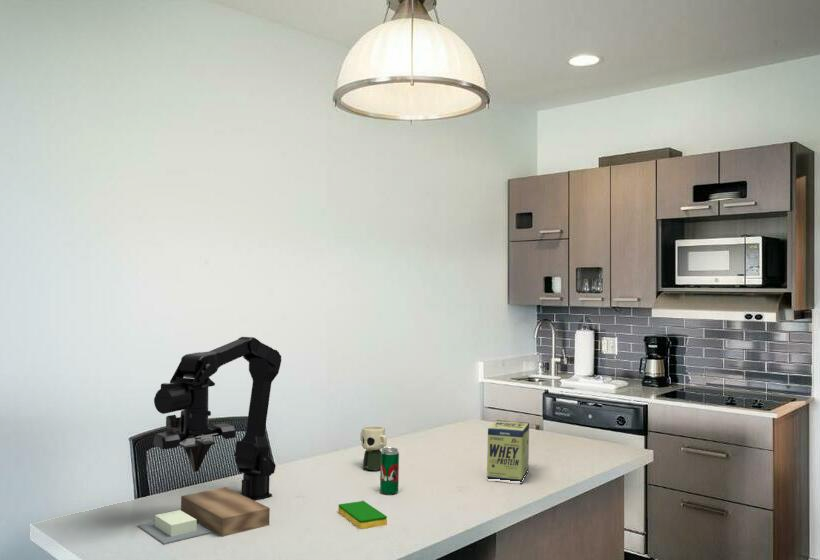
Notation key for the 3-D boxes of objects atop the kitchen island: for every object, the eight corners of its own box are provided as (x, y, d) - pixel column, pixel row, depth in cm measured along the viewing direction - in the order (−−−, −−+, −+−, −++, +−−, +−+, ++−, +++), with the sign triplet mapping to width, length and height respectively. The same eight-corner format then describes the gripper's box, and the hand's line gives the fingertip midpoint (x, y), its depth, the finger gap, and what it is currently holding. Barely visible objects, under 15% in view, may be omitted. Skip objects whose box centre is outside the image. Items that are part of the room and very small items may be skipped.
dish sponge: (363, 509, 178) (363, 500, 178) (387, 526, 166) (387, 516, 166) (337, 513, 175) (337, 504, 175) (360, 531, 162) (360, 520, 162)
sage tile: (155, 515, 161) (154, 525, 161) (171, 525, 155) (171, 536, 155) (179, 509, 165) (179, 520, 165) (196, 519, 159) (196, 530, 159)
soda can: (400, 490, 194) (401, 447, 194) (395, 496, 189) (396, 451, 189) (383, 489, 195) (384, 446, 195) (377, 494, 190) (378, 450, 190)
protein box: (486, 481, 205) (487, 428, 205) (495, 468, 220) (496, 419, 220) (521, 485, 202) (522, 431, 202) (529, 471, 216) (529, 421, 217)
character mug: (352, 468, 217) (353, 426, 217) (368, 464, 222) (368, 423, 223) (377, 474, 210) (378, 431, 210) (393, 470, 215) (394, 428, 215)
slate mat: (183, 516, 169) (183, 515, 169) (211, 533, 158) (211, 531, 158) (137, 526, 162) (137, 524, 162) (164, 544, 151) (164, 543, 151)
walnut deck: (225, 502, 180) (225, 487, 181) (269, 524, 164) (269, 507, 164) (180, 512, 172) (181, 495, 172) (222, 536, 156) (222, 518, 156)
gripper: (215, 397, 179) (215, 458, 180) (144, 406, 167) (143, 471, 167) (237, 403, 171) (236, 466, 171) (163, 413, 159) (163, 481, 159)
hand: (195, 471), depth 167 cm, fingers closed
